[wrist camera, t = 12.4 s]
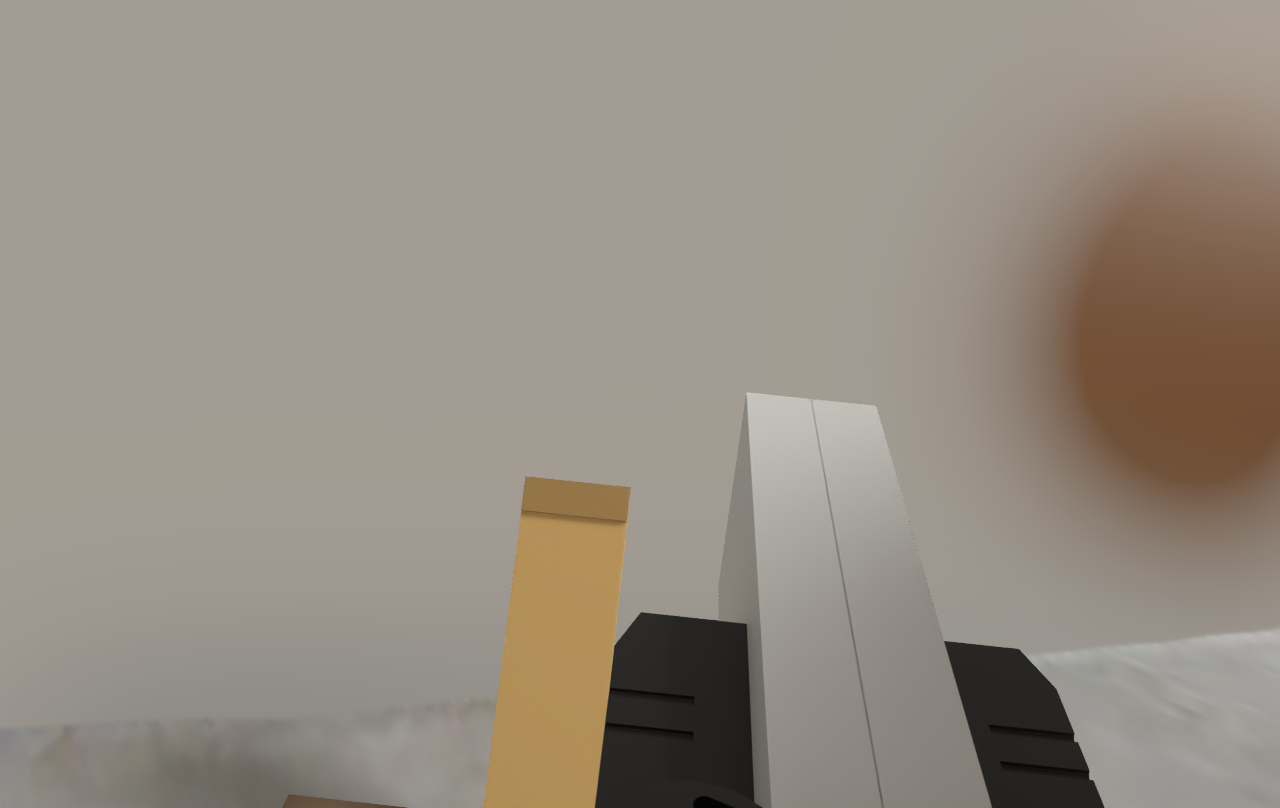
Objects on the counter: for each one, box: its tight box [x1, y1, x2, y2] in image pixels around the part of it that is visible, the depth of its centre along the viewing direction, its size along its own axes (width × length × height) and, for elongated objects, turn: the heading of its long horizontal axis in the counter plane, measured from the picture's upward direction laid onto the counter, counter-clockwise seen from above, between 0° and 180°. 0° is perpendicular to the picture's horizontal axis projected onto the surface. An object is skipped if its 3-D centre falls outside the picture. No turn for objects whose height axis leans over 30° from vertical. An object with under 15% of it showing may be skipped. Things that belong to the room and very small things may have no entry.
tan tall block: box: [484, 477, 630, 808], centre depth 52 cm, size 5×2×18 cm
